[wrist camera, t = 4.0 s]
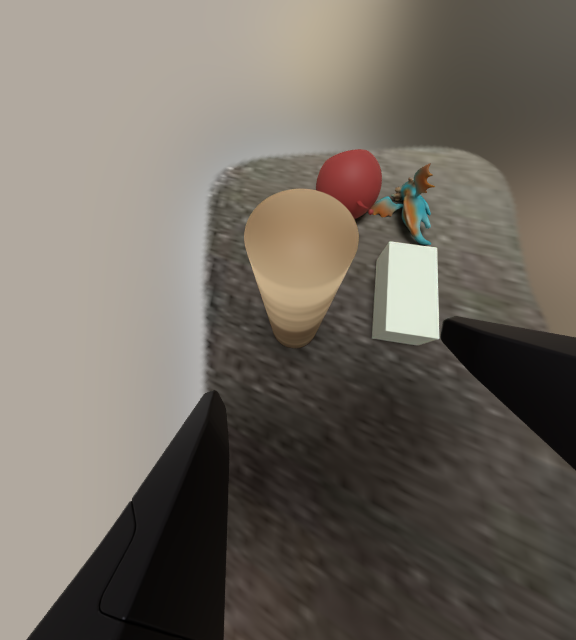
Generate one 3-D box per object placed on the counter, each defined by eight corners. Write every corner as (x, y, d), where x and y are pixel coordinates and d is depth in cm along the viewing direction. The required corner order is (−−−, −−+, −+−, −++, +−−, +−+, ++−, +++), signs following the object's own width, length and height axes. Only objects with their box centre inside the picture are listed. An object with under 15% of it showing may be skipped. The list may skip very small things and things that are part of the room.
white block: (417, 345, 20) (439, 338, 17) (371, 338, 20) (385, 330, 17) (417, 265, 22) (437, 247, 19) (376, 260, 22) (389, 241, 19)
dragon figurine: (480, 224, 22) (442, 151, 21) (467, 256, 18) (420, 168, 17) (415, 254, 28) (382, 198, 26) (394, 283, 24) (354, 219, 22)
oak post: (313, 351, 20) (353, 294, 7) (268, 344, 20) (232, 277, 7) (319, 309, 21) (362, 195, 8) (276, 302, 21) (256, 182, 8)
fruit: (314, 233, 25) (333, 219, 18) (309, 177, 24) (326, 135, 16) (367, 226, 26) (408, 209, 18) (364, 170, 24) (408, 125, 16)
